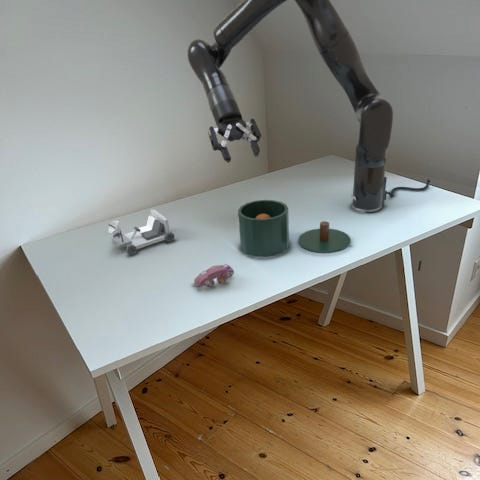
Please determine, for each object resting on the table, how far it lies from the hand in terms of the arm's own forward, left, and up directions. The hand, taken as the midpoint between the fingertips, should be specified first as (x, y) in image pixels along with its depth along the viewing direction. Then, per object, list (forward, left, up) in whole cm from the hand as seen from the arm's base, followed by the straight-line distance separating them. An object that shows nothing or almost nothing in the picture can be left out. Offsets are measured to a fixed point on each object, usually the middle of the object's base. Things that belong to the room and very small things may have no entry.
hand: (243, 158), depth 135 cm
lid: (-14, +19, -22) cm, 32 cm away
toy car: (+30, -14, -23) cm, 40 cm away
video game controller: (+22, +21, -23) cm, 38 cm away
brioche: (+1, +11, -22) cm, 25 cm away
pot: (+1, +11, -23) cm, 25 cm away
